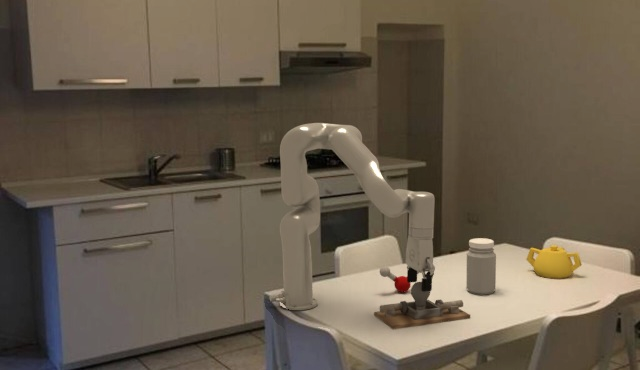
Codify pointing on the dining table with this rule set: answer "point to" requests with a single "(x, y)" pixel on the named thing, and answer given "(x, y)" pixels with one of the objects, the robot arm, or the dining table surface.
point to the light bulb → (419, 295)
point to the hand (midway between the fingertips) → (419, 286)
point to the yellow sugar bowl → (553, 262)
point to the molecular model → (396, 279)
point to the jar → (481, 266)
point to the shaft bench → (420, 313)
